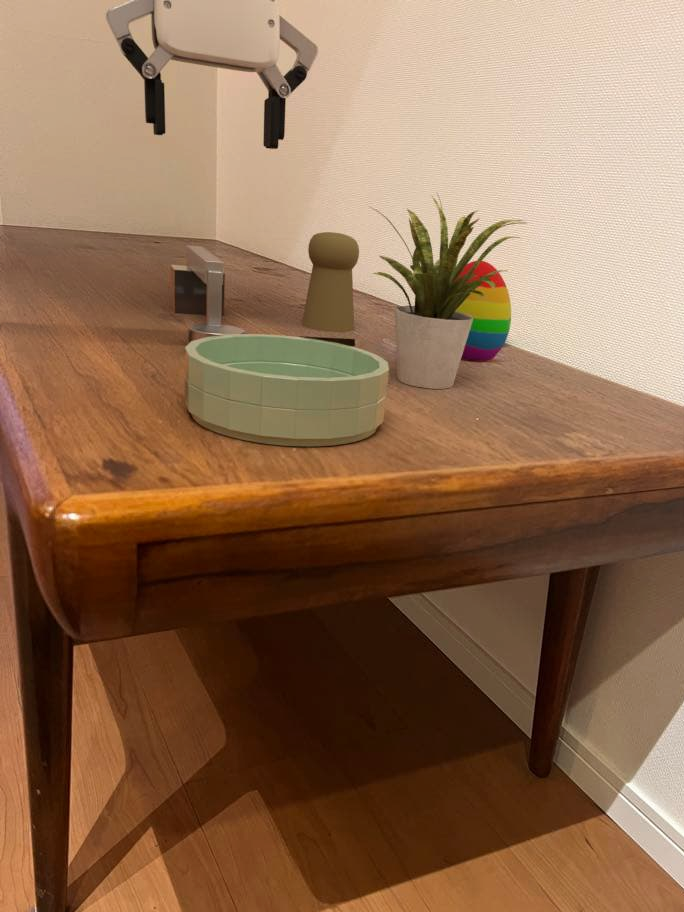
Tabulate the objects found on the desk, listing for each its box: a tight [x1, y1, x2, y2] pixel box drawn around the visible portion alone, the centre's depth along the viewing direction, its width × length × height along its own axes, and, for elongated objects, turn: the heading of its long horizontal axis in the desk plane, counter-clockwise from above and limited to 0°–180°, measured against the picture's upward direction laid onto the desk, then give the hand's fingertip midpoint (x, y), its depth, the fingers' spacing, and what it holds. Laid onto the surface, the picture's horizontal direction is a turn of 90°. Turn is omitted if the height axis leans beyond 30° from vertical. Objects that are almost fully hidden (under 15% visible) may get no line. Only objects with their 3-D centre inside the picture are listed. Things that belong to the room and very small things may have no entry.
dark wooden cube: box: [169, 264, 226, 317], centre depth 82 cm, size 5×4×6 cm
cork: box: [298, 231, 360, 347], centre depth 82 cm, size 6×6×11 cm
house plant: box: [366, 193, 526, 390], centre depth 69 cm, size 14×14×16 cm
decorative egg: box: [455, 260, 512, 362], centre depth 84 cm, size 8×8×10 cm
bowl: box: [184, 333, 390, 447], centre depth 56 cm, size 14×14×4 cm
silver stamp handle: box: [186, 245, 246, 345], centre depth 76 cm, size 18×5×8 cm, turn 21°
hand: (216, 141), depth 68 cm, fingers open, 9 cm apart
